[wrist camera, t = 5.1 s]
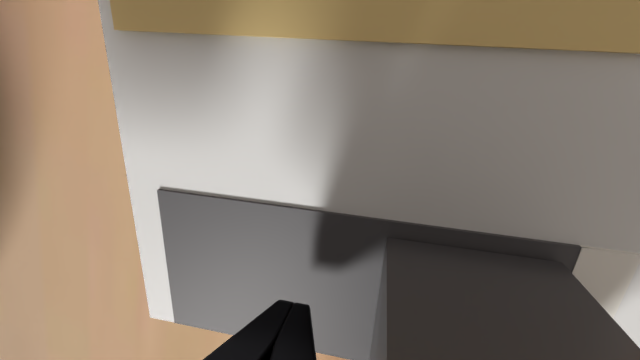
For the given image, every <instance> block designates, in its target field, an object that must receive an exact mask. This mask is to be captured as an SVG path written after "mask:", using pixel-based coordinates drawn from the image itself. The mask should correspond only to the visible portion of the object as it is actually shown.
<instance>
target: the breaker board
mask: <svg viewBox="0 0 640 360" xmlns="http://www.w3.org/2000/svg"><path fill="white" fill-rule="evenodd" d="M98 4H99V10H100V16H101V22H102V28H103V34H104V40H105V46H106V52H107V58H108V64H109V70H110V76H111V82H112V89H113V95H114V101H115V107H116V113H117V119H118V125H119V131H120V137H121V143H122V149H123V155H124V161H125V167H126V173H127V180H128V186H129V192H130V198H131V204H132V210H133V216H134V222H135V228H136V234H137V240H138V246H139V252H140V258H141V264H142V270H143V277H144V283H145V289H146V295H147V301H148V307H149V313H150V317H151V318H155V319H160V320H165V321H170V322H174V323H178V324H183V325H187V326H192V327H197V328H202V329H206V330H211V331H216V332H221V333H226V334H230V335H235V334H236V333H237V332H238V331H240V330H241V329H242V328H243V327H245V326H246V325H247V324H249V323H250V322H251V321H252V320H254V319H255V318H256V317H257V316H259V315H260V314H261V313H262V312H264V311H265V310H266V309H267V308H269V307H270V306H271V305H272V304H274V303H275V302H276V301H278V300H286V301H292V302H294V303H296V302H297V303H302V304H308V305H309V306H310V311H311V319H312V327H313V336H314V344H315V352H317V353H321V354H326V355H331V356H336V357H341V358H345V359H350V360H369V356H370V349H371V342H372V335H373V328H374V321H375V314H376V307H377V301H378V294H379V287H380V280H381V273H382V266H383V259H384V252H385V245H386V238H387V237H388V238H395V239H402V240H409V241H416V242H423V243H430V244H437V245H444V246H451V247H458V248H465V249H472V250H479V251H486V252H493V253H500V254H507V255H514V256H520V257H527V258H534V259H541V260H548V261H555V262H562V263H563V264H564V265H565V266H566V267H567V268H568V269H569V271H570V272H571V273H572V274H573V275H574V276H575V277H576V278H577V279H578V280H579V282H580V283H581V284H582V285H583V286H584V287H585V288H586V289H587V290H588V292H589V293H590V294H591V295H592V296H593V297H594V298H595V299H596V300H597V302H598V303H599V304H600V305H601V306H602V307H603V308H604V309H605V310H606V311H607V313H608V314H609V315H610V316H611V317H612V318H613V319H614V320H615V321H616V323H617V324H618V325H619V326H620V327H621V328H622V329H623V330H624V331H625V332H626V334H627V335H628V336H629V337H630V338H631V339H632V340H633V341H634V342H635V344H636V345H637V346H638V347H639V348H640V0H98Z"/></svg>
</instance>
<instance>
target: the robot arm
mask: <svg viewBox="0 0 640 360" xmlns="http://www.w3.org/2000/svg"><path fill="white" fill-rule="evenodd" d="M203 360H316V352H315V344H314V336H313V327H312V319H311V311H310V306H309V305H308V304H302V303H297V302H296V303H294V302H292V301H286V300H278V301H276V302H275V303H274V304H272V305H271V306H270V307H269V308H267V309H266V310H265V311H264V312H262V313H261V314H260V315H259V316H257V317H256V318H255V319H254V320H252V321H251V322H250V323H249V324H247V325H246V326H245V327H243V328H242V329H241V330H240V331H238V332H237V333H236V334H235V335H233V336H232V337H231V338H230V339H228V340H227V341H226V342H225V343H223V344H222V345H221V346H220V347H218V348H217V349H216V350H215V351H213V352H212V353H211V354H210V355H208V356H207V357H206V358H204V359H203Z"/></svg>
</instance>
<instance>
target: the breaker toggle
mask: <svg viewBox="0 0 640 360" xmlns="http://www.w3.org/2000/svg"><path fill="white" fill-rule="evenodd" d="M369 360H640V348H639V347H638V346H637V345H636V344H635V342H634V341H633V340H632V339H631V338H630V337H629V336H628V335H627V334H626V332H625V331H624V330H623V329H622V328H621V327H620V326H619V325H618V324H617V323H616V321H615V320H614V319H613V318H612V317H611V316H610V315H609V314H608V313H607V311H606V310H605V309H604V308H603V307H602V306H601V305H600V304H599V303H598V302H597V300H596V299H595V298H594V297H593V296H592V295H591V294H590V293H589V292H588V290H587V289H586V288H585V287H584V286H583V285H582V284H581V283H580V282H579V280H578V279H577V278H576V277H575V276H574V275H573V274H572V273H571V272H570V271H569V269H568V268H567V267H566V266H565V265H564V264H563V263H562V262H555V261H548V260H541V259H534V258H527V257H520V256H514V255H507V254H500V253H493V252H486V251H479V250H472V249H465V248H458V247H451V246H444V245H437V244H430V243H423V242H416V241H409V240H402V239H395V238H388V237H387V238H386V245H385V252H384V259H383V266H382V273H381V280H380V287H379V294H378V301H377V307H376V314H375V321H374V328H373V335H372V342H371V349H370V356H369Z"/></svg>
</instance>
